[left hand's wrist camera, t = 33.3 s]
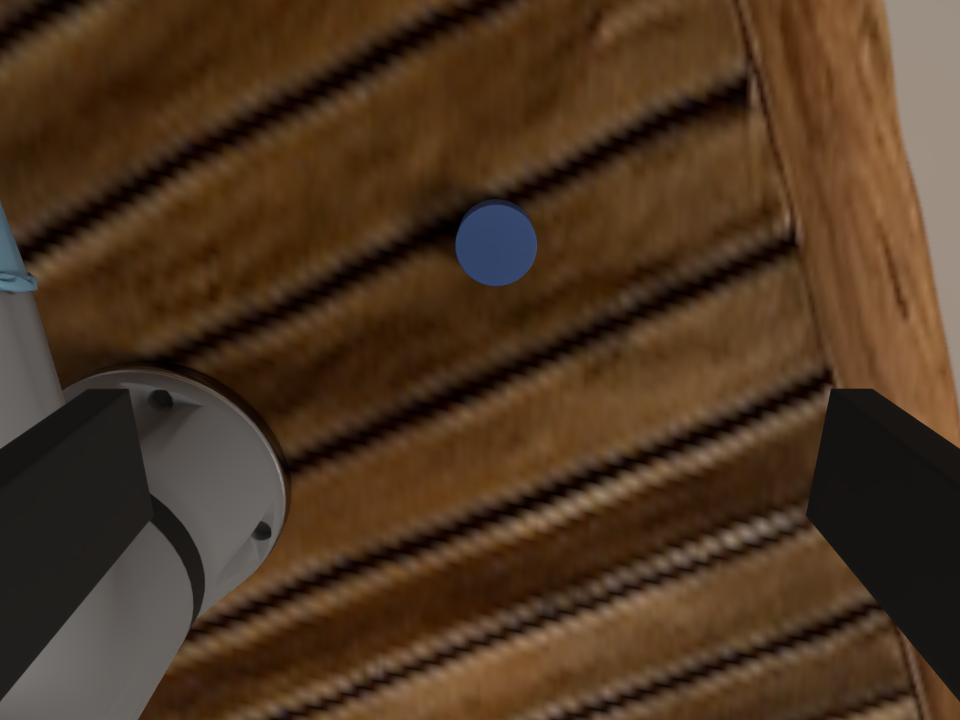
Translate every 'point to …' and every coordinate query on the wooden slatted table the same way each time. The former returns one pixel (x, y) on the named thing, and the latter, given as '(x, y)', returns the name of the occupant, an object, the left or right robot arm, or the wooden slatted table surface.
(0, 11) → the wooden slatted table surface
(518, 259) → the cap
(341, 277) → the wooden slatted table surface
